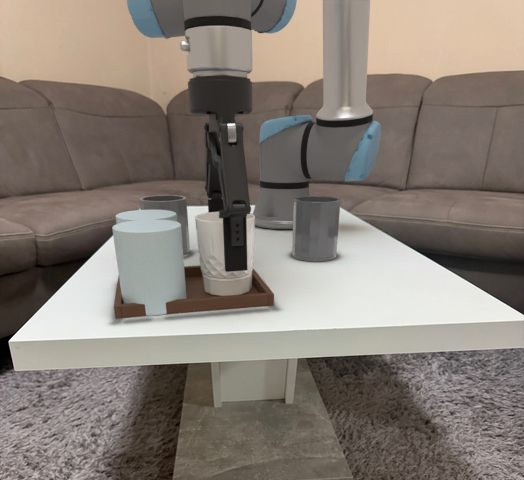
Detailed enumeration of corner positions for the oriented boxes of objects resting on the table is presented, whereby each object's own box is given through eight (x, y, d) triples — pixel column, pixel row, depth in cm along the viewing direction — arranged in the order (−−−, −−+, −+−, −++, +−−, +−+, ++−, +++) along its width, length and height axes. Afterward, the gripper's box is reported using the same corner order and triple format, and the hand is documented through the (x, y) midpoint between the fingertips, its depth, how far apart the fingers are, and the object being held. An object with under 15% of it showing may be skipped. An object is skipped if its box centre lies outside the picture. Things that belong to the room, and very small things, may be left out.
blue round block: (179, 275, 70) (174, 208, 66) (184, 292, 63) (178, 218, 59) (126, 279, 68) (116, 210, 64) (124, 296, 61) (113, 220, 57)
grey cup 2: (326, 249, 88) (330, 195, 83) (343, 260, 81) (347, 201, 76) (287, 251, 86) (288, 196, 82) (300, 262, 79) (302, 203, 75)
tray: (248, 275, 72) (248, 262, 71) (274, 309, 59) (274, 293, 58) (121, 284, 68) (119, 270, 67) (116, 323, 55) (113, 306, 54)
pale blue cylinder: (184, 292, 63) (178, 218, 59) (189, 312, 56) (183, 230, 52) (124, 296, 61) (113, 220, 57) (122, 318, 54) (110, 233, 50)
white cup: (248, 300, 60) (247, 222, 56) (191, 296, 62) (186, 220, 57) (260, 282, 67) (260, 212, 63) (209, 279, 68) (205, 210, 64)
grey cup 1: (187, 248, 88) (184, 194, 84) (192, 258, 81) (188, 200, 77) (145, 250, 87) (139, 195, 82) (146, 261, 80) (139, 202, 75)
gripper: (179, 83, 63) (190, 237, 73) (199, 63, 41) (212, 287, 51) (232, 84, 65) (237, 235, 74) (279, 65, 43) (277, 281, 52)
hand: (227, 256), depth 63 cm, fingers open, 13 cm apart
